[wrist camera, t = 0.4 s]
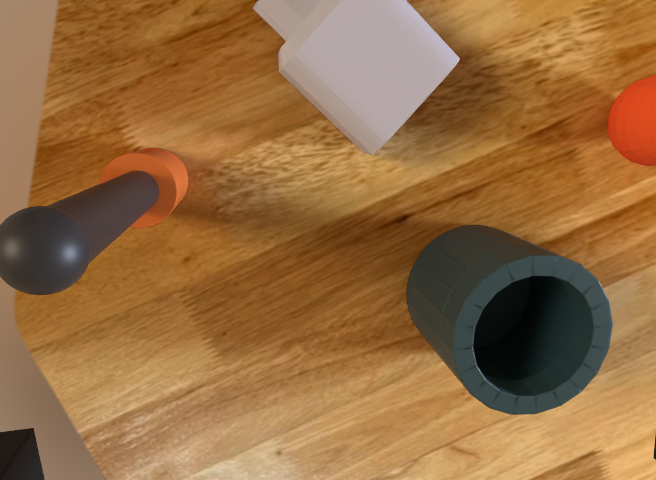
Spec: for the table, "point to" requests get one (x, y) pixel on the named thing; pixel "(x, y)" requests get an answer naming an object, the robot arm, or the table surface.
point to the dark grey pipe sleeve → (510, 318)
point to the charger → (359, 61)
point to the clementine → (635, 122)
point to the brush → (88, 221)
